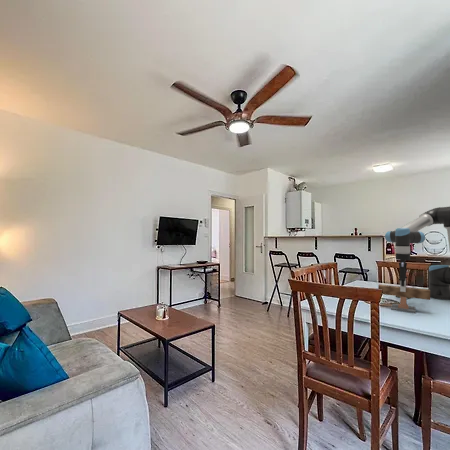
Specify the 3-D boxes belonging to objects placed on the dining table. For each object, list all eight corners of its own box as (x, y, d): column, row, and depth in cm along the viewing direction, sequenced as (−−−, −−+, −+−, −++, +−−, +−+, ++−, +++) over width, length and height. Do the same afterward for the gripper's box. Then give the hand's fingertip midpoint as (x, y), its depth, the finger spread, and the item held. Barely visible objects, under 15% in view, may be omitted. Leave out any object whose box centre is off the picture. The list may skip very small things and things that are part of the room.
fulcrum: (392, 305, 171) (392, 292, 172) (415, 308, 164) (415, 295, 165) (391, 309, 162) (391, 296, 162) (415, 313, 155) (415, 299, 155)
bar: (378, 293, 169) (378, 285, 169) (379, 292, 173) (379, 284, 173) (430, 299, 154) (430, 291, 154) (429, 298, 158) (429, 289, 158)
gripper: (396, 251, 175) (396, 286, 174) (394, 254, 157) (394, 292, 157) (410, 252, 171) (410, 287, 170) (409, 254, 153) (410, 294, 152)
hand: (403, 290), depth 163 cm, fingers open, 9 cm apart
